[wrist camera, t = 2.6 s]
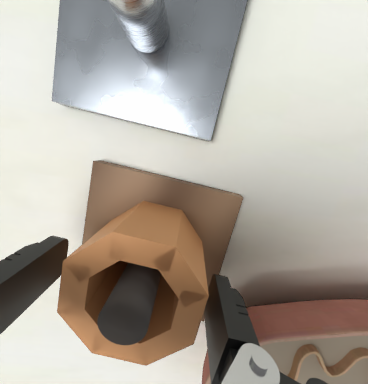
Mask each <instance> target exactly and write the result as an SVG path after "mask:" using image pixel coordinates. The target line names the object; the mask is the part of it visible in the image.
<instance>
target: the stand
mask: <svg viewBox="0 0 368 384" xmlns="http://www.w3.org/2000/svg"><path fill="white" fill-rule="evenodd" d="M242 200H243V197H242V196H241V195H240V194H236V193H232V192H228V191H223V190H219V189H215V188H211V187H207V186H203V185H199V184H195V183H191V182H187V181H183V180H179V179H174V178H170V177H166V176H162V175H158V174H154V173H150V172H146V171H142V170H138V169H134V168H129V167H125V166H121V165H117V164H113V163H109V162H105V161H101V160H100V161H93V167H92V175H91V182H90V190H89V197H88V205H87V212H86V219H85V227H84V234H83V242H82V245H83V244H84V243H85V242H86V241H87V240H89V239H90V238H91V237H92V236H93V235H95V234H96V233H97V232H98V231H99V230H100V229H102V228H103V227H104V226H105V225H106V224H108V223H109V222H110V221H111V220H113V219H114V218H116V217H117V216H119V215H121V214H122V213H124V212H126V211H127V210H129V209H131V208H132V207H134V206H136V205H137V204H139V203H141V202H142V201H147V202H151V203H155V204H159V205H163V206H167V207H171V208H175V209H180V210H182V211H183V212H184V214H185V216H186V217H187V219H188V220H189V222H190V223H191V225H192V227H193V228H194V230H195V231H196V233H197V234H198V236H199V238H200V239H201V241H202V245H203V253H204V261H205V269H206V277H207V286H208V288H209V284H210V281H211V278H212V276H213V274H217V275H219V272H220V269H221V266H222V263H223V260H224V257H225V253H226V250H227V247H228V244H229V241H230V238H231V235H232V231H233V228H234V225H235V222H236V219H237V216H238V213H239V209H240V206H241V203H242ZM160 278H161V273H160V271H159V270H158V269H154V268H149V267H145V266H141V265H137V264H133V263H128V264H127V266H126V268H125V270H124V271H123V273H122V275H121V277H120V278H119V280H118V282H117V284H116V285H115V287H114V289H113V291H112V292H111V294H110V296H109V298H108V299H107V301H106V303H105V305H104V306H103V308H102V310H101V312H100V313H99V315H98V320H97V324H98V328H99V330H100V332H101V334H102V335H103V336H104V337H105V338H106V339H107V340H109V341H111V342H113V343H115V344H118V345H132V344H135V343H138V342H139V341H141V340H142V339H143V338H144V337H145V335H146V333H147V331H148V327H149V323H150V319H151V314H152V310H153V306H154V302H155V298H156V294H157V290H158V286H159V282H160ZM204 319H205V315H204V313H203V316H202V319H201V321H204Z"/></svg>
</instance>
